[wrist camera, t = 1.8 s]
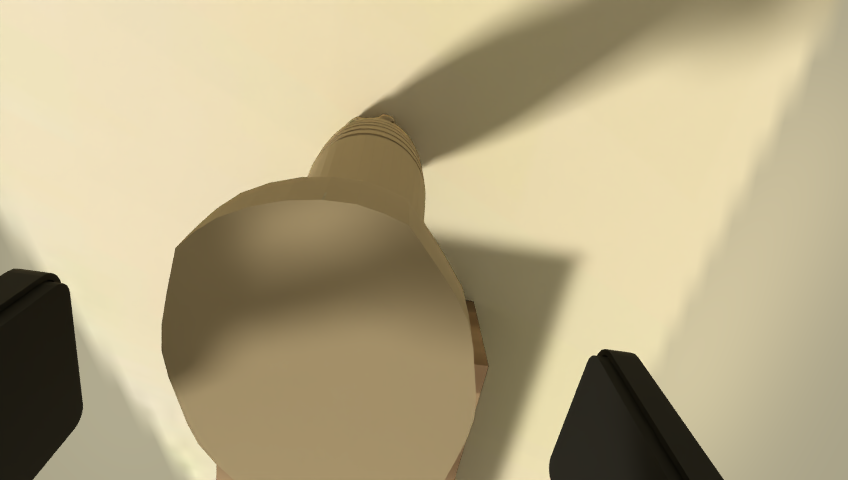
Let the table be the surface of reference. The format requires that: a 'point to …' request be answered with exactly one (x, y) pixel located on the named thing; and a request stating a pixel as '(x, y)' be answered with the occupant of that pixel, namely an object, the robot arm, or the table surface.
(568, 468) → the robot arm
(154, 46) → the table surface
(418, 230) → the handle
